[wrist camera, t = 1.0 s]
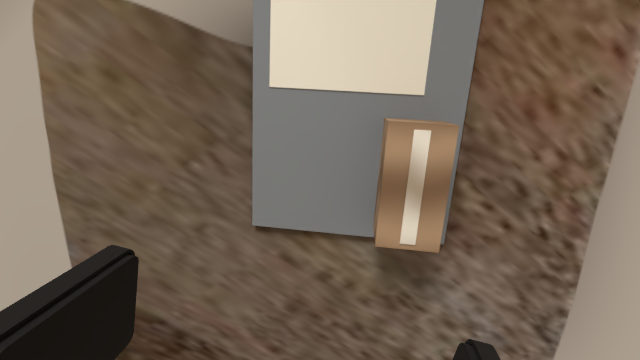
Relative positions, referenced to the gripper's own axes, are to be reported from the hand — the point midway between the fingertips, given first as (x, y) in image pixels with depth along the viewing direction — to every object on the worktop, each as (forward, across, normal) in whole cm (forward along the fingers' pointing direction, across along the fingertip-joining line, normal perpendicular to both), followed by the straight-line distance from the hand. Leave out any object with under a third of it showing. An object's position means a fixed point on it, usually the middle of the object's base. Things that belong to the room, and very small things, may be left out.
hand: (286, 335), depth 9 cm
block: (+21, -6, -1) cm, 22 cm away
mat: (+21, 0, -6) cm, 22 cm away
